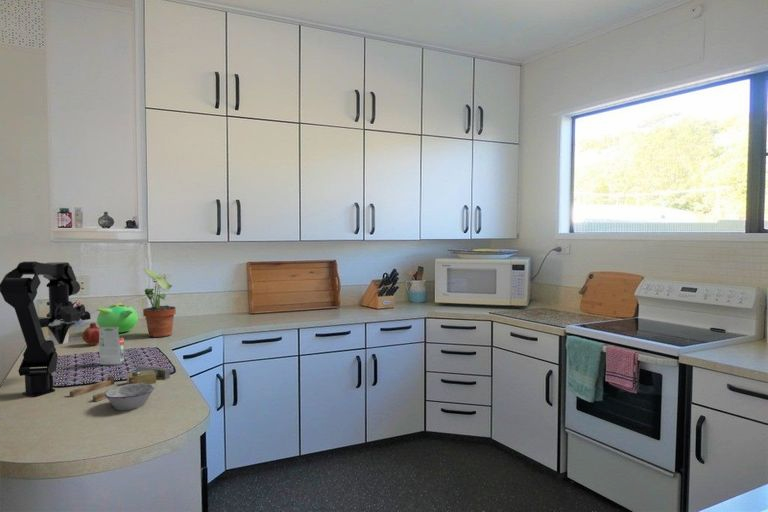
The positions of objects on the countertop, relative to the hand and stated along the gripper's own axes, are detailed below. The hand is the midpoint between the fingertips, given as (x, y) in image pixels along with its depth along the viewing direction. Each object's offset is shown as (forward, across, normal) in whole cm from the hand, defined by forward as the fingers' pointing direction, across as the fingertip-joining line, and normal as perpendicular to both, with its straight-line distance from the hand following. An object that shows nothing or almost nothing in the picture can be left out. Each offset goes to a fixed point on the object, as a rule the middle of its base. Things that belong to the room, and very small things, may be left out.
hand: (60, 343), depth 173 cm
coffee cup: (+12, +34, +56) cm, 66 cm away
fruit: (+12, +38, +37) cm, 54 cm away
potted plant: (+12, +64, +25) cm, 70 cm away
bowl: (+12, -9, -45) cm, 47 cm away
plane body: (+12, -4, -27) cm, 30 cm away
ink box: (+12, +20, +1) cm, 24 cm away
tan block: (+12, +8, -30) cm, 33 cm away
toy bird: (+12, +61, +51) cm, 80 cm away
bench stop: (+12, +15, -27) cm, 33 cm away
